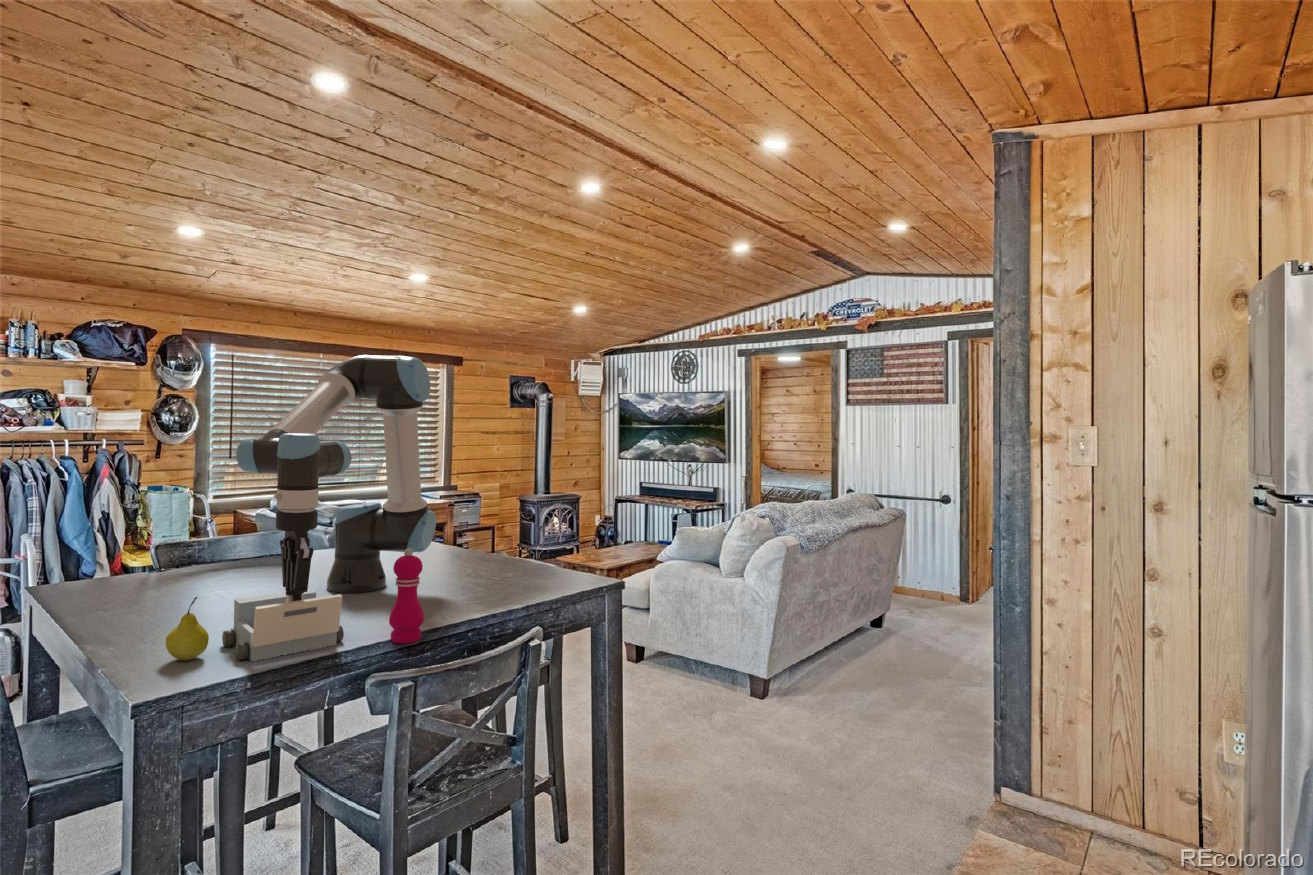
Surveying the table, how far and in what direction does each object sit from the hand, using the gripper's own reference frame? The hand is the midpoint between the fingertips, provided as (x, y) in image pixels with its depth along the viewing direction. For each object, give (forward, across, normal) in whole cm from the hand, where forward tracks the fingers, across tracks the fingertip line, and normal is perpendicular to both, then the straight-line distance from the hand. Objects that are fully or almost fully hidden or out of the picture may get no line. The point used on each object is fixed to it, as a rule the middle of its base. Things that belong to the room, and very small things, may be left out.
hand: (293, 624), depth 142 cm
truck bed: (+6, -7, 0) cm, 9 cm away
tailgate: (+2, +1, 0) cm, 3 cm away
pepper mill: (+6, +6, +21) cm, 23 cm away
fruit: (+6, -8, -17) cm, 20 cm away
